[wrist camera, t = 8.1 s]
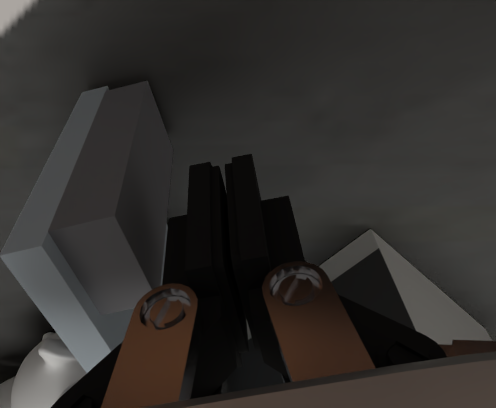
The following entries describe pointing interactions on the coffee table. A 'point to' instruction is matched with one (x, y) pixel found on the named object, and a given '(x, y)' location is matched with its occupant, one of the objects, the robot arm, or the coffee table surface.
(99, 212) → the side door
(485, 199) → the coffee table surface
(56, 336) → the cat figurine
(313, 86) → the coffee table surface
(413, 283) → the white rectangular box
